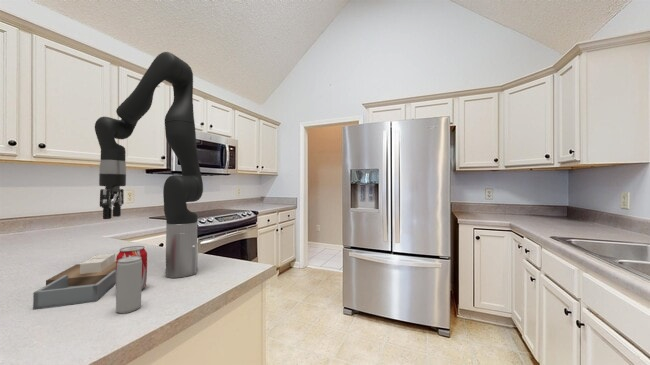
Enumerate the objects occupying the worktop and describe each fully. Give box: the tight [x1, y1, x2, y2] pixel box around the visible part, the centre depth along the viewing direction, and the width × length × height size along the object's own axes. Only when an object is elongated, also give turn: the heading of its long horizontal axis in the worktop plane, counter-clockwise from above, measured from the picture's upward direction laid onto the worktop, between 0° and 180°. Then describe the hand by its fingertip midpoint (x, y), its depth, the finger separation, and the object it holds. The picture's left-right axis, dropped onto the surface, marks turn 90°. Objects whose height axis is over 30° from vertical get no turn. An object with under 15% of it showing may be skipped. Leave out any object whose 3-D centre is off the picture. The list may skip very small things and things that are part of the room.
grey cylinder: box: [115, 256, 142, 314], centre depth 61 cm, size 5×5×12 cm
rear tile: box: [89, 253, 116, 266], centre depth 86 cm, size 5×5×3 cm
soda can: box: [115, 245, 148, 291], centre depth 72 cm, size 7×7×12 cm
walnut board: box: [45, 260, 116, 287], centre depth 82 cm, size 16×16×3 cm
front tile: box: [80, 258, 108, 274], centre depth 80 cm, size 5×5×3 cm
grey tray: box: [32, 270, 116, 310], centre depth 69 cm, size 12×13×4 cm
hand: (112, 217), depth 93 cm, fingers open, 8 cm apart
